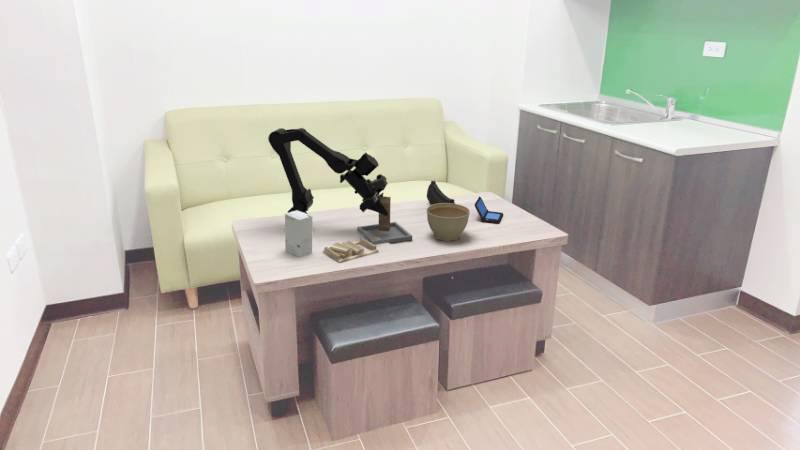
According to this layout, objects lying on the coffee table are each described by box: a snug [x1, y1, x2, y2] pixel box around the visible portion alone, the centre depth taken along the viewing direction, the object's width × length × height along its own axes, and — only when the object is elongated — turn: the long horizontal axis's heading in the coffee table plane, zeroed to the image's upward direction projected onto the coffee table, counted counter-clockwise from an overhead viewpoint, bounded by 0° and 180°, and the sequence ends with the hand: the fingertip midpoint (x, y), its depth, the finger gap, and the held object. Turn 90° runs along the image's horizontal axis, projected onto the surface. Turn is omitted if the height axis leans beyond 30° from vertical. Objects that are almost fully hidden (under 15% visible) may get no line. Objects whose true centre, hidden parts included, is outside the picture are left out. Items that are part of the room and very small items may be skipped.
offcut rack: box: [322, 237, 379, 264], centre depth 204 cm, size 16×11×3 cm
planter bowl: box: [426, 203, 471, 242], centre depth 220 cm, size 16×16×11 cm
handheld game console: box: [474, 196, 504, 225], centre depth 241 cm, size 12×11×7 cm
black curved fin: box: [426, 180, 456, 206], centre depth 244 cm, size 17×3×30 cm
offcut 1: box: [329, 242, 353, 255], centre depth 202 cm, size 4×7×2 cm, turn 59°
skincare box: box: [284, 210, 313, 258], centre depth 202 cm, size 8×6×15 cm
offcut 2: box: [336, 252, 353, 259], centre depth 202 cm, size 4×7×2 cm, turn 51°
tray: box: [356, 221, 413, 245], centre depth 221 cm, size 16×16×2 cm
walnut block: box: [378, 195, 391, 231], centre depth 218 cm, size 2×4×13 cm, turn 79°
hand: (388, 214), depth 218 cm, fingers closed on walnut block, 2 cm apart
